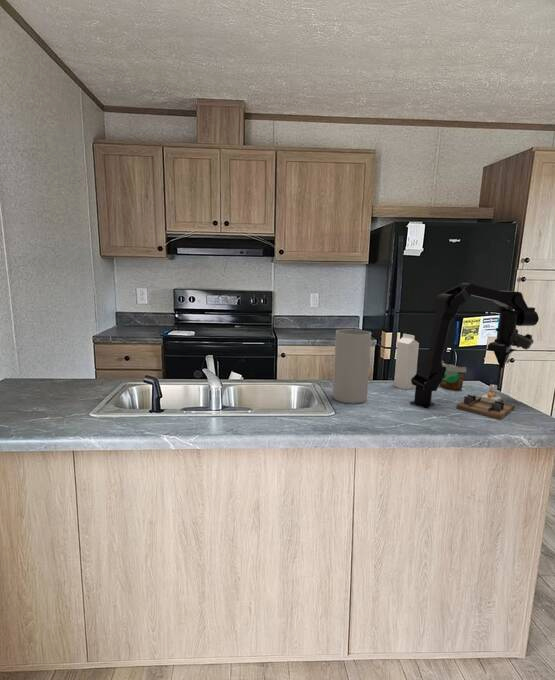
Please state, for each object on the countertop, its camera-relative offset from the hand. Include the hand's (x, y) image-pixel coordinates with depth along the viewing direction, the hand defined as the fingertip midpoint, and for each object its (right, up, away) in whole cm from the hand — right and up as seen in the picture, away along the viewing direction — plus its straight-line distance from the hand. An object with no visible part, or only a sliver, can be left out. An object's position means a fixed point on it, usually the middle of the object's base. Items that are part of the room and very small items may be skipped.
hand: (501, 367), depth 146 cm
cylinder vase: (-56, -12, 0) cm, 57 cm away
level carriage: (-6, -12, -4) cm, 14 cm away
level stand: (-10, -14, -7) cm, 19 cm away
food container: (-13, -10, +18) cm, 24 cm away
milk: (-31, -9, +17) cm, 36 cm away
